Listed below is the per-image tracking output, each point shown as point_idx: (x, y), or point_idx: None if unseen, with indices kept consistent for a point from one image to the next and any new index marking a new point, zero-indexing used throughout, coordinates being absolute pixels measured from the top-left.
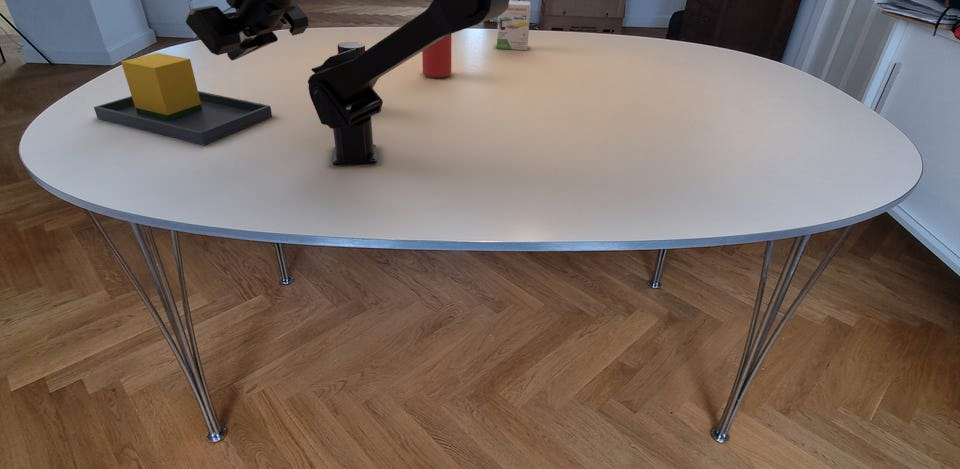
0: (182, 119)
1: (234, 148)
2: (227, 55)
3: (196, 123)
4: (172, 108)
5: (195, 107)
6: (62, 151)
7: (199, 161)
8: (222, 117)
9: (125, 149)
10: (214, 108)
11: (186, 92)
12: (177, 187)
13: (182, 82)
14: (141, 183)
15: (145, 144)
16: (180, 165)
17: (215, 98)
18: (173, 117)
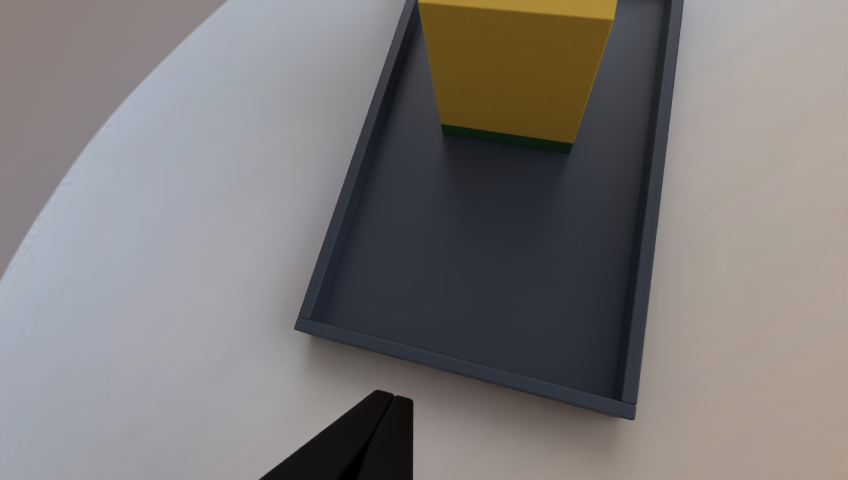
0: (465, 158)
1: (303, 443)
2: (377, 390)
3: (444, 217)
4: (460, 118)
5: (546, 142)
6: (234, 52)
7: (201, 392)
8: (520, 260)
9: (259, 158)
10: (593, 182)
11: (530, 105)
12: (46, 437)
13: (528, 77)
14: (73, 332)
15: (295, 179)
16: (173, 357)
17: (650, 148)
18: (457, 133)
